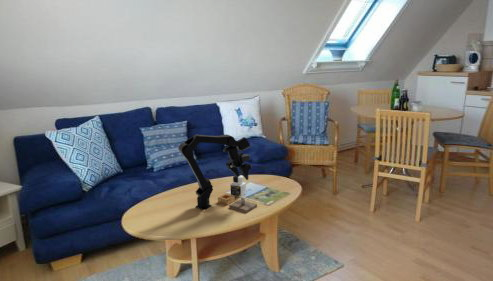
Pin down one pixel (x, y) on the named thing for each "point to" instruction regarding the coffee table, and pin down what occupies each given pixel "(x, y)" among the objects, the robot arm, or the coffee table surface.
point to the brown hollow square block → (226, 199)
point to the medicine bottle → (238, 186)
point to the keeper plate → (243, 205)
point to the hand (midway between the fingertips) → (242, 178)
